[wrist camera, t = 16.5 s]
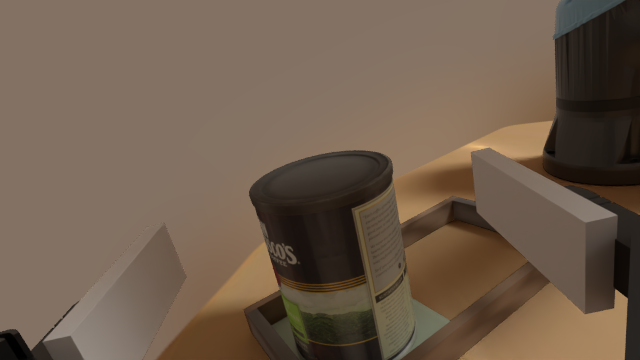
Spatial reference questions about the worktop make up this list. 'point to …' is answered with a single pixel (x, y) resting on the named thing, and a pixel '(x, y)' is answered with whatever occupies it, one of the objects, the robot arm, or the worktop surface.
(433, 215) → the wooden serving tray
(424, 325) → the pad
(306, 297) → the coffee can
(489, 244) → the worktop surface
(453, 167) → the worktop surface
